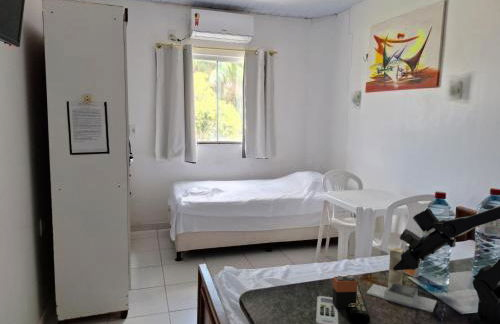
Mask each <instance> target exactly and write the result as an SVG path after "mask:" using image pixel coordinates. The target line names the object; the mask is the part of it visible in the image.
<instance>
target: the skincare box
mask: <svg viewBox="0 0 500 324" xmlns="http://www.w3.org/2000/svg"><path fill="white" fill-rule="evenodd" d="M409 245H410V244H408V243H406V244H404V251H406V250H407V249H408V250H409ZM419 260H420V261H421V259H419ZM419 267H420V266H419ZM419 267H418V268H417V269H415V270H411V269H409V270H403V273H405V274H406V275H408V276H411V277H413V278H414V277H417V278H419V277H418V274H419Z"/></svg>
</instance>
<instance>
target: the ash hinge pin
mask: <svg viewBox="0 0 500 324" xmlns="http://www.w3.org/2000/svg"><path fill="white" fill-rule="evenodd" d="M404 251H405V248H398V247H392V248H391V249H390V250H389V266H388V283H387V285H388V286H389V284H390V283H391V282H393V283H397V284H400V285H403V273H404V272H403V270H397V271H394V269H393V267H394V266H395V265H396V264H397V263H398V262H399V261H400V260H401V254H402V253H403V252H404ZM388 286H387V287H388Z"/></svg>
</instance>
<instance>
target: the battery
mask: <svg viewBox="0 0 500 324" xmlns="http://www.w3.org/2000/svg"><path fill="white" fill-rule="evenodd" d="M332 282H333V283H332V299H331V300H332V304H333V306H334V308H336V309H348V308H347V306H348V304H350V303H356V304H357V294H358V292H357V290H358V281H357V280H356V279H355V277H354V275H351V274H347V275H346V276H343V275H342V276H341V275H338V276H334V277H333V280H332Z"/></svg>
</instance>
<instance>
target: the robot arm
mask: <svg viewBox="0 0 500 324" xmlns="http://www.w3.org/2000/svg"><path fill="white" fill-rule="evenodd" d="M412 220H413V221H414V222H415V224H416V225H417V226H418V228H420V231H422V232H424V233H425V232H426V233H429V234H427V235H423V236H419V235H417V234H416V233H414V232H413V231H411V230H409V229H408V228H405V229H404V230H403V232H402V233H401V235H400V236H399V239H400V240H401V241H404V243H406V244H410V245H409V250H408V249H407V250H406V251H405V250H404V252H403V253H402V254H401V260H400V261H399V262H398V263H397V264H396V265H395V266H394V267H393V269H394V271H397V270H409V269H411V270H415V269H417V268H418V267H419V266H420V260H419V259H421V260H422V261H423V262H424V260H425V259H426V258H427V257H429V256H431V255H434V254H435V253H436V252H437V251H438V250H440V249H442V248H443V247H445V246H446V245H448V246H449V247H450V248H455V247H456V242H457V239H456V237H460V236H463V235H465V234H466V233H468V232H470V231H472V230H473V229H476V228H477V227H480V226H483V225H486V224H489V223H492V222H495V221H498V220H500V205H499V206H498V205H497V206H496V207H493V208H490V209H488V210H484V211H482V212H481V211H480V212H478V213H475V214H472V215H469V216H461V217H456V218H451V219H448V220H445V219H443V220H439V219H438V218H437V217H436V215H435V214H434V213H433V211H432V209H430V208H426V209H424V210H423V211H421V212H419V213H415V215H414V216H413V217H412ZM472 278H473V280H472V286H473V288H474V290H475V291H476V294H477V297H478V304H477V312H476V313H477V316H478V320H480V321H483V322H487V323H491V324H500V258H499V259H498V260H497V261H496V262H495V263H494V264H493V265H491V264H487V265H485V266H483V267H481V268H480V269H478V272H477V274H475V275H473V276H472Z"/></svg>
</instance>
